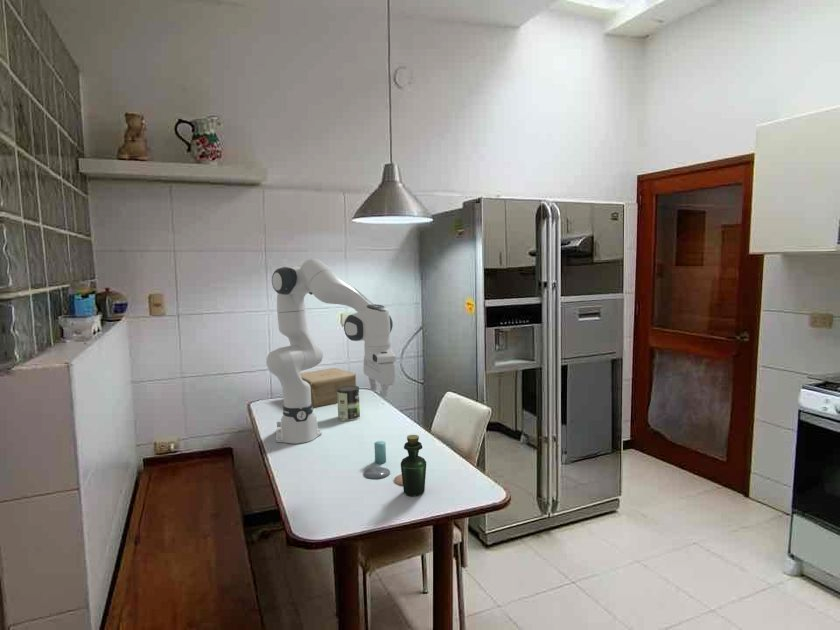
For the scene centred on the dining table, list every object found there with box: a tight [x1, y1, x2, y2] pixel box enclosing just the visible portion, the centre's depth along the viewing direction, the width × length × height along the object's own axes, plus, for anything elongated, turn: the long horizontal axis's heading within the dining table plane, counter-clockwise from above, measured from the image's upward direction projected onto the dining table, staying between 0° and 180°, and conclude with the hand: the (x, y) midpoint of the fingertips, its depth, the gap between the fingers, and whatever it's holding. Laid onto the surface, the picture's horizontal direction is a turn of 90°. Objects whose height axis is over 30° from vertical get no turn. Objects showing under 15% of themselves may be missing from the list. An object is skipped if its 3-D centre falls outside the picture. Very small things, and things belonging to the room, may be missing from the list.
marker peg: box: [373, 440, 387, 465], centre depth 188 cm, size 4×4×7 cm
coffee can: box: [337, 385, 361, 422], centre depth 240 cm, size 10×10×14 cm
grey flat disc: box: [363, 466, 391, 480], centre depth 178 cm, size 9×9×1 cm
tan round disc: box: [393, 473, 403, 487], centre depth 172 cm, size 9×9×1 cm
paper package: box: [300, 367, 357, 408], centre depth 274 cm, size 27×26×14 cm
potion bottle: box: [400, 434, 427, 497], centre depth 162 cm, size 8×8×18 cm
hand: (378, 392), depth 176 cm, fingers open, 8 cm apart
